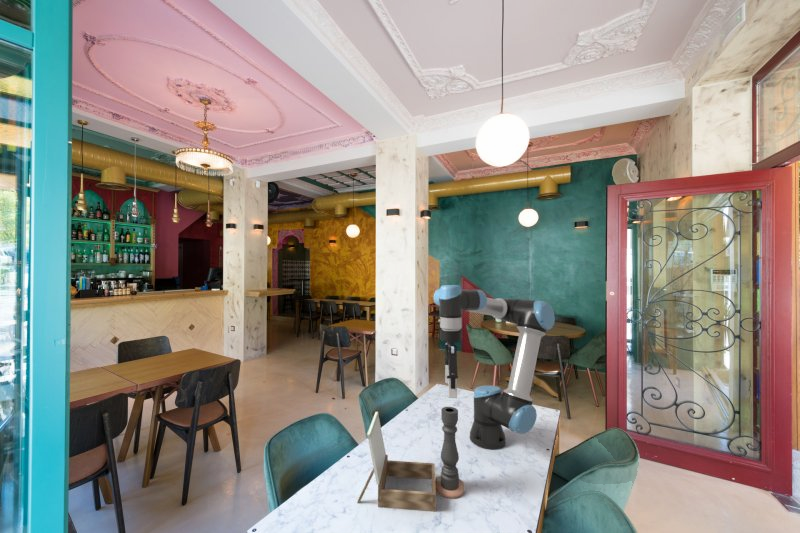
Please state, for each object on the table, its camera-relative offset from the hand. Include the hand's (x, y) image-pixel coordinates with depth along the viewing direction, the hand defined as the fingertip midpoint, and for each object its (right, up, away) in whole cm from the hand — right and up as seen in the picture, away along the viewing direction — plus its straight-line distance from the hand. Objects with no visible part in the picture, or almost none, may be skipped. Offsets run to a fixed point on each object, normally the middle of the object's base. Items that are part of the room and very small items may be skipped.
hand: (450, 390), depth 107 cm
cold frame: (-18, -32, -4) cm, 37 cm away
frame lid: (-26, -25, -3) cm, 36 cm away
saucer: (-1, -33, -3) cm, 33 cm away
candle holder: (-1, -32, -3) cm, 32 cm away
